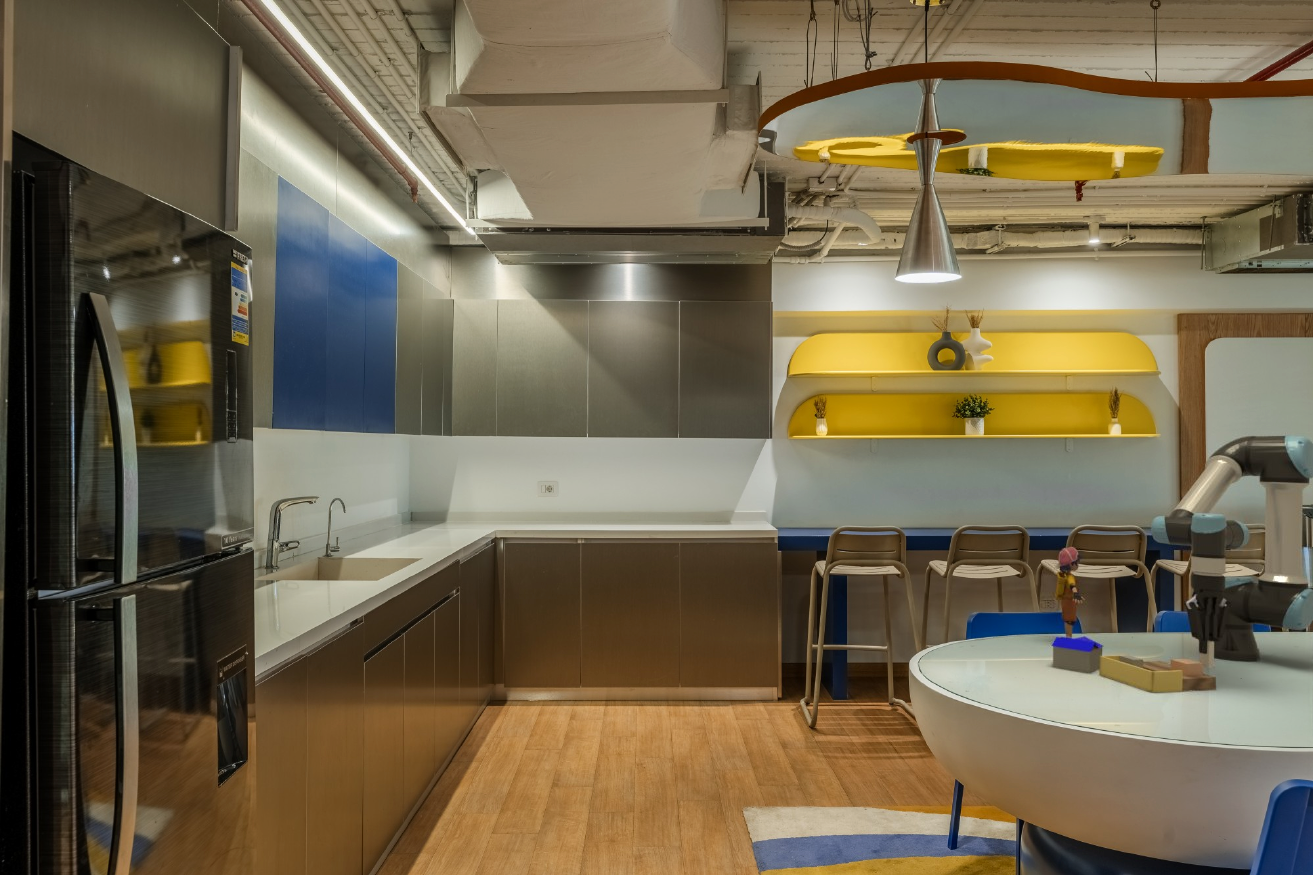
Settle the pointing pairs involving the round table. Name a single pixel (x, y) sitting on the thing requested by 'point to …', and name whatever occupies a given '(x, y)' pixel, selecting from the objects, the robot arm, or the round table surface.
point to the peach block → (1187, 666)
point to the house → (1076, 654)
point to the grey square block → (1131, 660)
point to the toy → (1068, 587)
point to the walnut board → (1184, 677)
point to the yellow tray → (1140, 675)
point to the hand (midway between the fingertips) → (1206, 666)
